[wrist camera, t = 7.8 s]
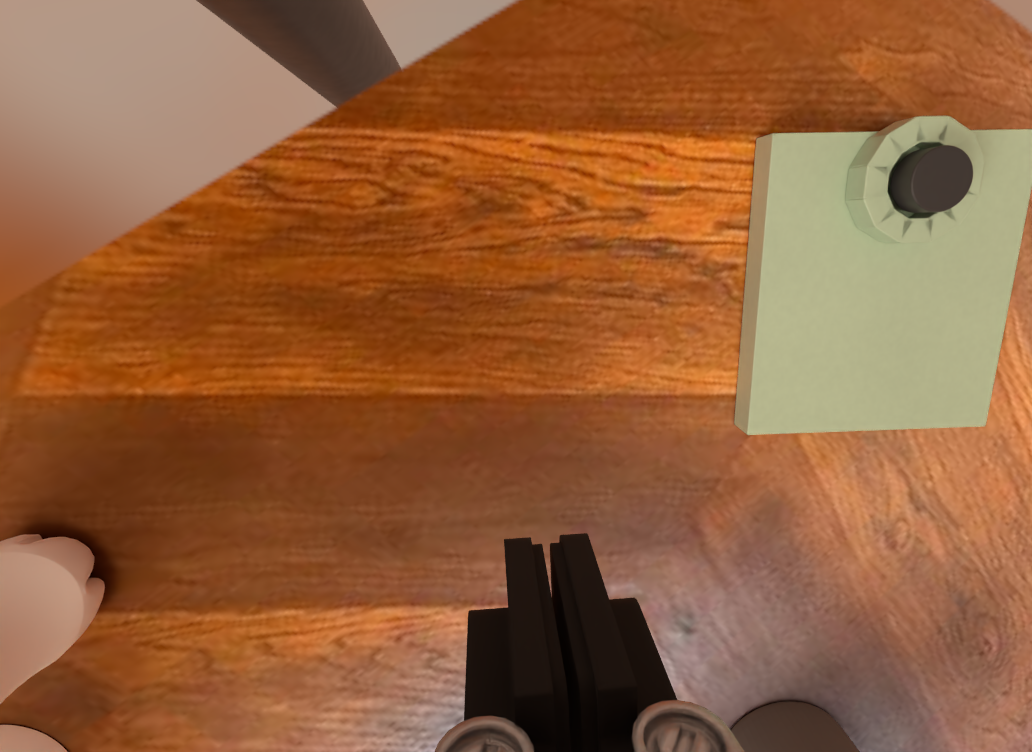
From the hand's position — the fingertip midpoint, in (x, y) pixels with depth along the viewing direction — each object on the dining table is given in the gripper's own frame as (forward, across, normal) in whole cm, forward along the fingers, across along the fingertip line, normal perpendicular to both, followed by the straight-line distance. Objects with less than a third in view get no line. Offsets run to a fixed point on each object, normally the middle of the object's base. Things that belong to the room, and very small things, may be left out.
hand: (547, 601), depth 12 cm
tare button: (+19, -21, -8) cm, 29 cm away
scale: (+22, -21, -2) cm, 31 cm away
